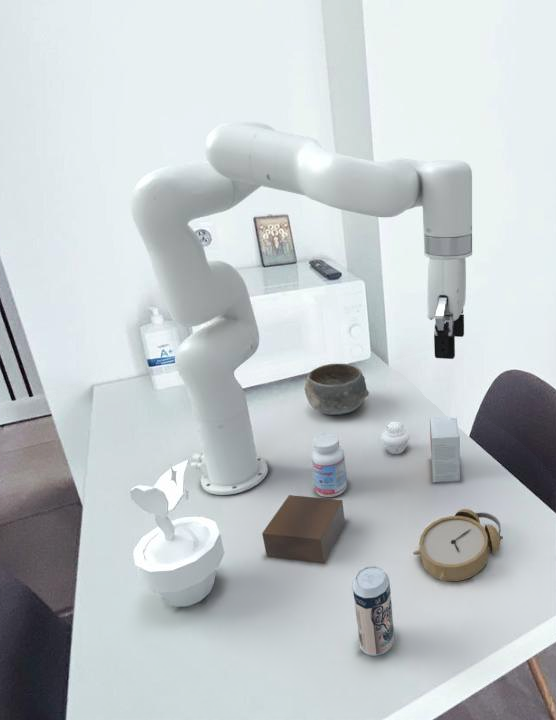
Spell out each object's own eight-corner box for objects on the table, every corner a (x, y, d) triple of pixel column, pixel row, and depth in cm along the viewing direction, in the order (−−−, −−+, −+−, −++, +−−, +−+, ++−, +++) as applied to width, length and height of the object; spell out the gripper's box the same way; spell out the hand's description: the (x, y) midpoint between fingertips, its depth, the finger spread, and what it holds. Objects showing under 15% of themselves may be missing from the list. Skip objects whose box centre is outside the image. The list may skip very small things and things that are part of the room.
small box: (431, 460, 116) (429, 417, 111) (457, 459, 116) (456, 415, 112) (432, 483, 108) (430, 438, 104) (460, 481, 109) (459, 436, 104)
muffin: (379, 446, 121) (377, 418, 118) (406, 440, 123) (404, 413, 120) (386, 460, 116) (384, 432, 113) (414, 454, 118) (412, 426, 115)
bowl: (312, 398, 142) (307, 363, 138) (372, 394, 143) (369, 360, 139) (303, 425, 129) (298, 387, 125) (369, 421, 131) (366, 384, 127)
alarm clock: (404, 541, 89) (471, 490, 97) (409, 561, 92) (475, 510, 99) (447, 580, 81) (516, 522, 89) (452, 601, 84) (519, 543, 92)
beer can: (387, 661, 73) (381, 594, 68) (354, 654, 74) (345, 588, 69) (398, 630, 77) (393, 566, 72) (367, 625, 78) (360, 561, 73)
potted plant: (202, 628, 78) (162, 484, 68) (130, 617, 79) (80, 475, 69) (249, 563, 89) (221, 431, 79) (185, 554, 91) (149, 425, 81)
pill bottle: (309, 493, 106) (302, 444, 101) (329, 476, 111) (323, 428, 106) (334, 501, 103) (328, 451, 99) (353, 484, 108) (348, 435, 104)
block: (266, 556, 90) (261, 533, 88) (292, 517, 99) (289, 494, 97) (323, 563, 89) (320, 539, 87) (345, 522, 98) (342, 499, 96)
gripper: (435, 234, 93) (438, 327, 100) (411, 257, 78) (416, 366, 85) (478, 234, 92) (478, 329, 99) (463, 258, 77) (464, 368, 83)
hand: (450, 346), depth 92 cm, fingers open, 9 cm apart
